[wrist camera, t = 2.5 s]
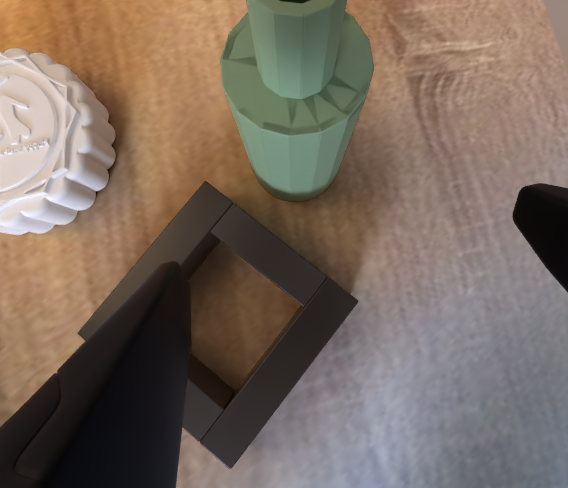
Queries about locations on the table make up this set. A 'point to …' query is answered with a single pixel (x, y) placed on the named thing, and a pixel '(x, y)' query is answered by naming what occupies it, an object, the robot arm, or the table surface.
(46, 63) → the mooncake
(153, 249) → the holder
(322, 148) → the vase
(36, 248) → the table surface
